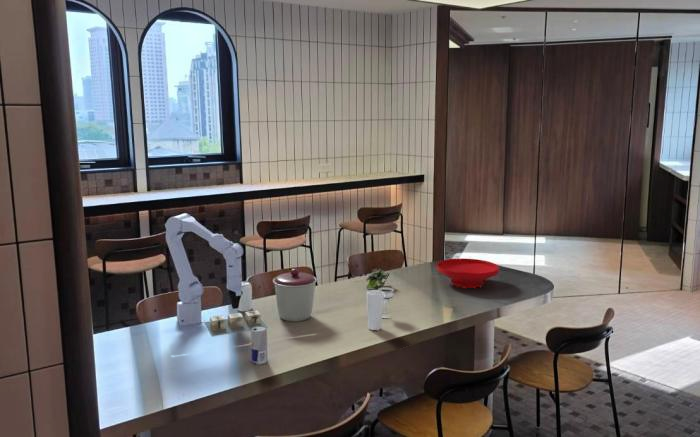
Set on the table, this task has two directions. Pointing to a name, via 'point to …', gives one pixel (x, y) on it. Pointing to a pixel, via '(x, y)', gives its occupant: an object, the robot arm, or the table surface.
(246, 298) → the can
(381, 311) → the drinking glass
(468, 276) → the bowl
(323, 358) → the table surface
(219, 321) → the beige square block
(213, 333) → the mat
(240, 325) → the plain block
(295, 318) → the canister
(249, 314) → the block numbered 7
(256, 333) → the energy drink
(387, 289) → the wineglass
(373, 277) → the green leafy plant
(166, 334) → the table surface
